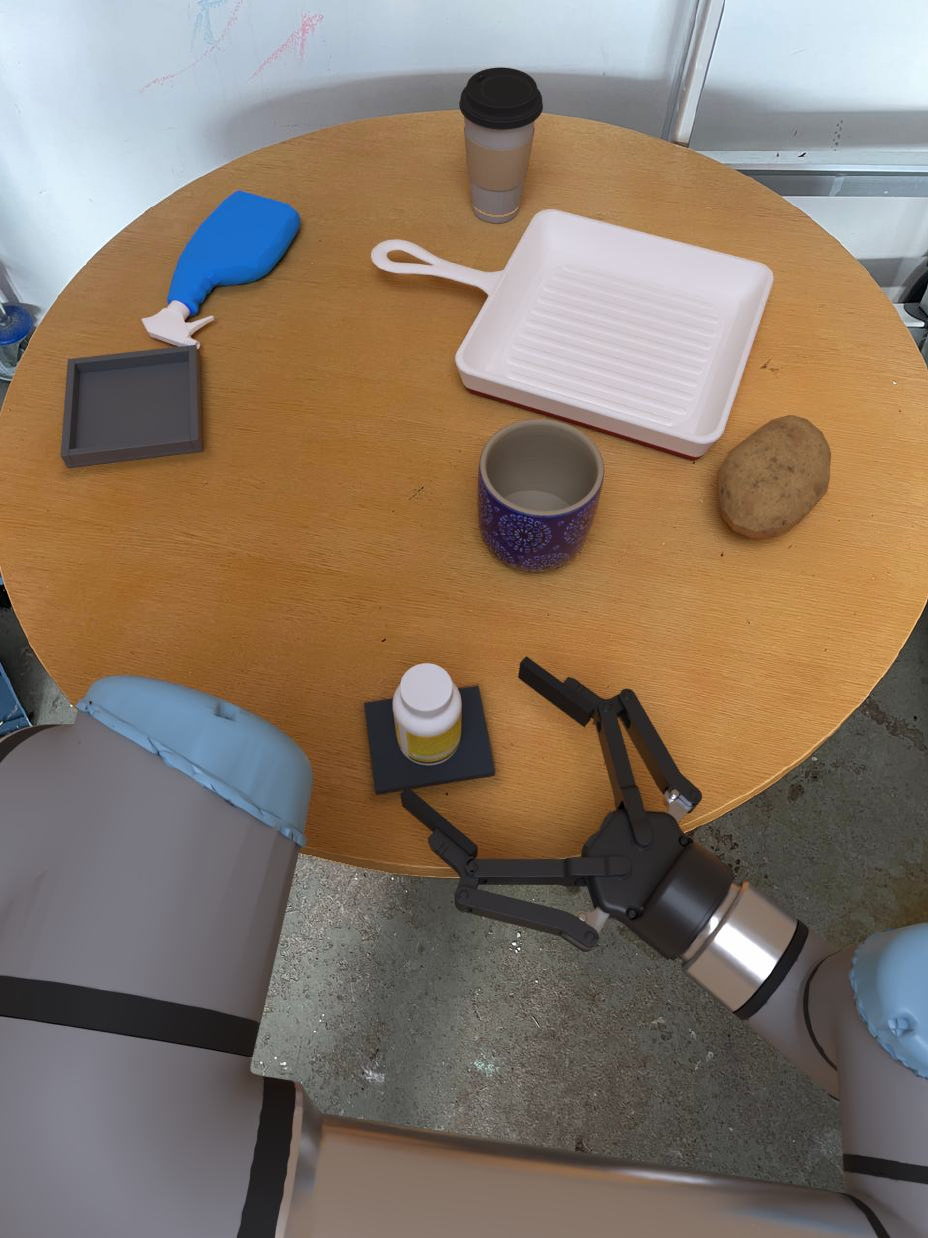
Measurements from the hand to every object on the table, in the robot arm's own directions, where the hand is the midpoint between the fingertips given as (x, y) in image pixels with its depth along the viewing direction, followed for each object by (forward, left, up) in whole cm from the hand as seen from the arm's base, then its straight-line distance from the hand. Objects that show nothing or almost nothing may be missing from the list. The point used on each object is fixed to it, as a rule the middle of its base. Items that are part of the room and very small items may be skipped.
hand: (465, 728), depth 65 cm
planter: (+10, +22, -9) cm, 26 cm away
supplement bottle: (-2, +3, -8) cm, 9 cm away
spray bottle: (-18, +64, -9) cm, 68 cm away
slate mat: (-3, +3, -9) cm, 10 cm away
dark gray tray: (-28, +45, -9) cm, 54 cm away
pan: (+18, +50, -9) cm, 54 cm away
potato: (+33, +22, -9) cm, 41 cm away
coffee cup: (+16, +72, -9) cm, 74 cm away
